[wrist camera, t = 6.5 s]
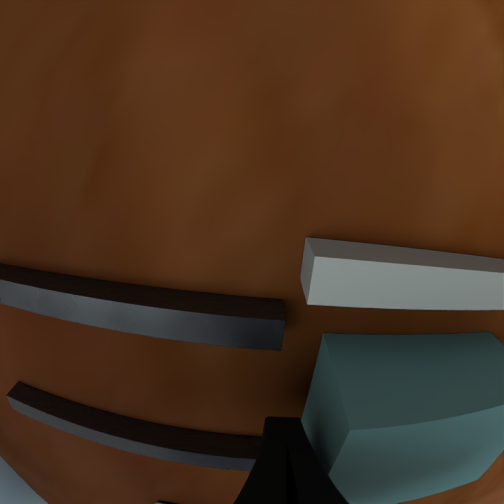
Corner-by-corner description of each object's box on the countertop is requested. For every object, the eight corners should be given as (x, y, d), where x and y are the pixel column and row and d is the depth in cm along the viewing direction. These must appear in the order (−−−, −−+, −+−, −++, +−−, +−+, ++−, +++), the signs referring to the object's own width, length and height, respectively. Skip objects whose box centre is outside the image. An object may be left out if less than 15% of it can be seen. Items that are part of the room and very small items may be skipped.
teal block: (446, 417, 14) (477, 479, 9) (298, 430, 14) (305, 514, 9) (489, 331, 12) (544, 390, 7) (322, 333, 12) (350, 430, 7)
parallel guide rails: (259, 449, 14) (258, 471, 13) (24, 395, 14) (13, 409, 13) (283, 299, 11) (285, 320, 10) (-18, 260, 11) (-37, 270, 10)
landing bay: (464, 448, 15) (473, 467, 13) (264, 471, 15) (263, 498, 13) (555, 266, 10) (578, 279, 9) (305, 237, 11) (314, 256, 9)
